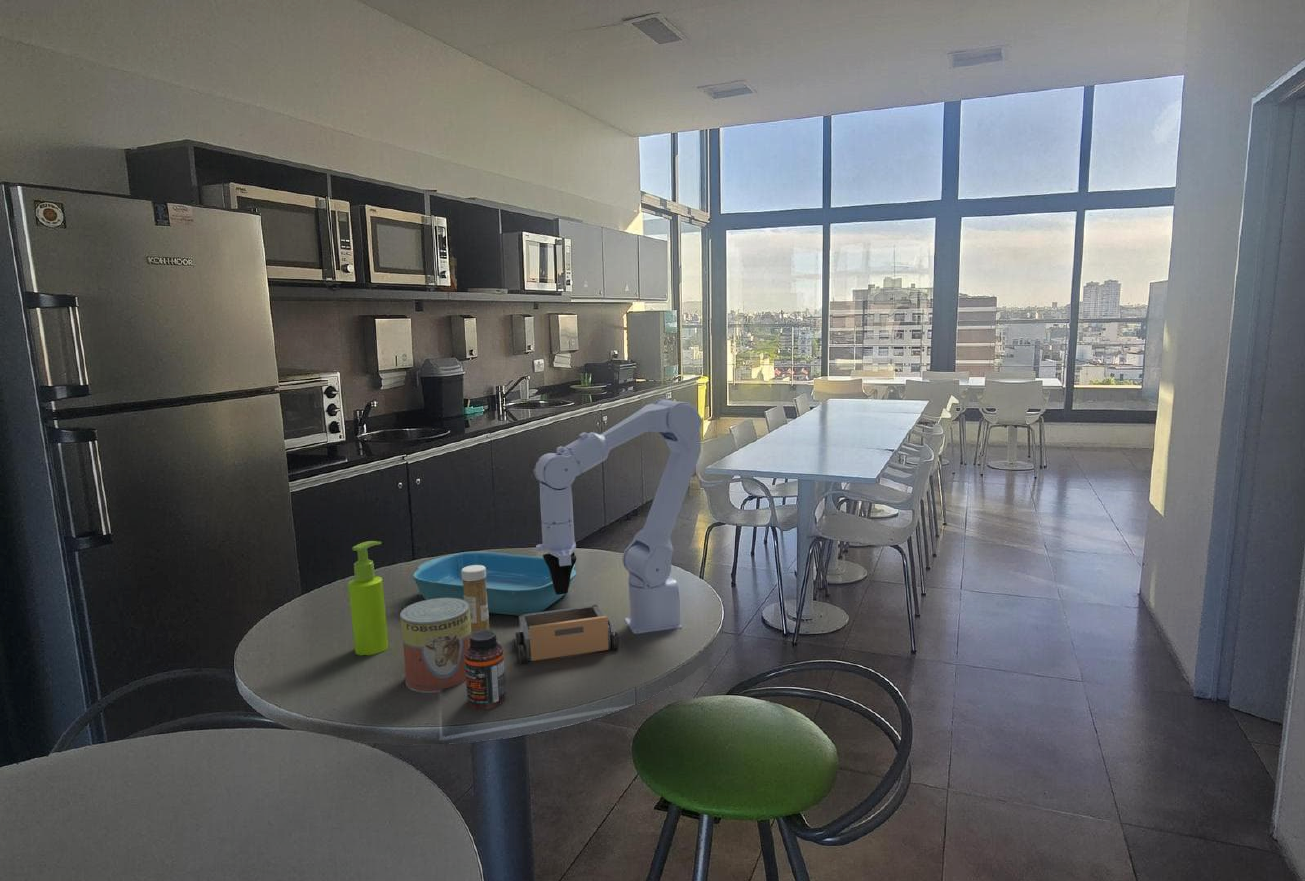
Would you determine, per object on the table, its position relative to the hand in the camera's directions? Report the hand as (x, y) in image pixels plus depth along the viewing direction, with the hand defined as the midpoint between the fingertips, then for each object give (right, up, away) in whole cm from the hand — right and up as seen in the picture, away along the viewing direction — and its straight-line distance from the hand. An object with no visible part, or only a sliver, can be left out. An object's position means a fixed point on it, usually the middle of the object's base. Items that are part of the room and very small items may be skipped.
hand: (561, 592), depth 138 cm
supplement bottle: (-9, -14, -20) cm, 26 cm away
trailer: (0, -10, +1) cm, 10 cm away
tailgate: (+2, -10, -5) cm, 12 cm away
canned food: (-19, -12, -10) cm, 25 cm away
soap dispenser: (-35, -11, +3) cm, 37 cm away
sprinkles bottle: (-17, -10, +7) cm, 21 cm away
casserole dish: (-17, -7, +28) cm, 33 cm away
